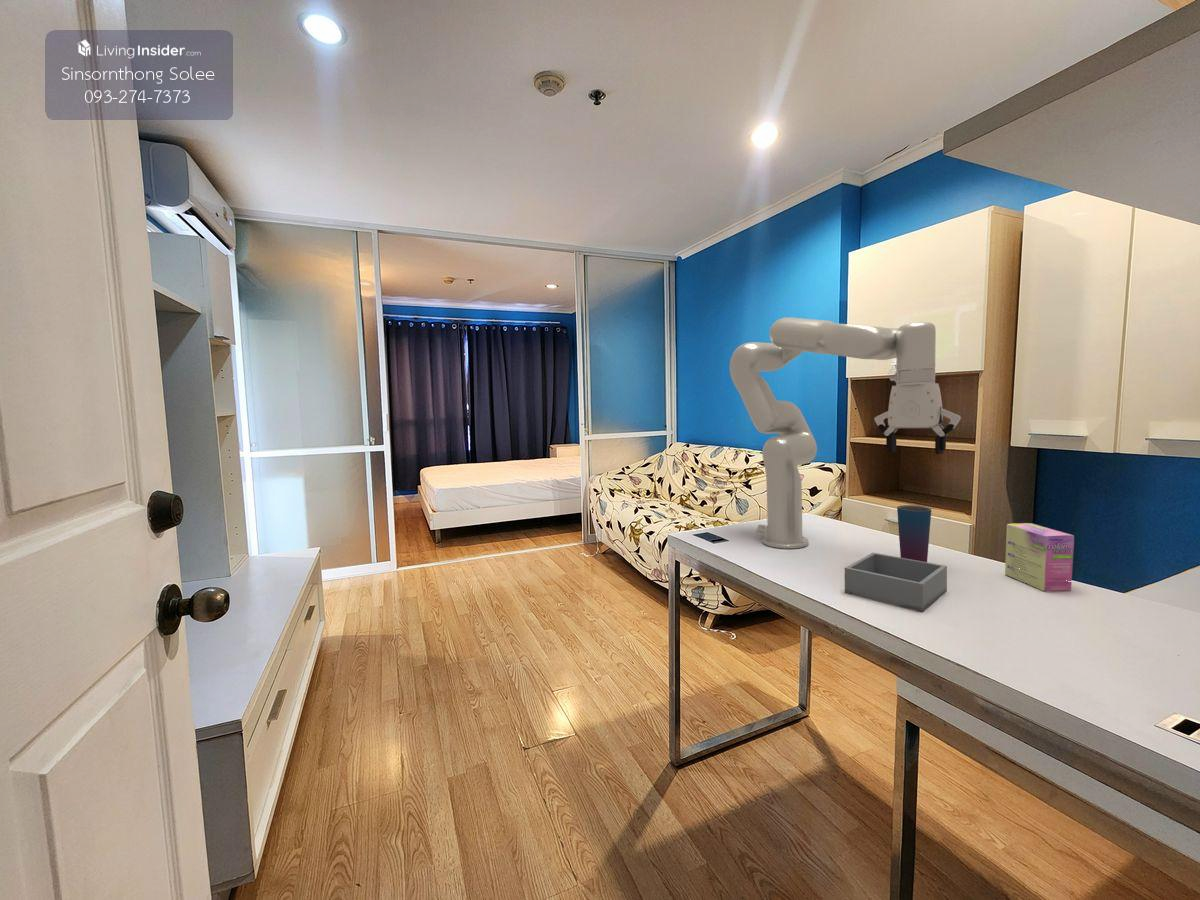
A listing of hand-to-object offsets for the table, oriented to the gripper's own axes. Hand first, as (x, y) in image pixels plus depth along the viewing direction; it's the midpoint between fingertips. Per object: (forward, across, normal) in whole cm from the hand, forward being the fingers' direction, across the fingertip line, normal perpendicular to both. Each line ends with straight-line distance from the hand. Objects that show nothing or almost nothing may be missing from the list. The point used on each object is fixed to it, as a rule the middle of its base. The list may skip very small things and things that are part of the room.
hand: (915, 452), depth 116 cm
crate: (+28, +2, -17) cm, 33 cm away
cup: (+28, 0, 0) cm, 28 cm away
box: (+28, +21, +8) cm, 36 cm away
